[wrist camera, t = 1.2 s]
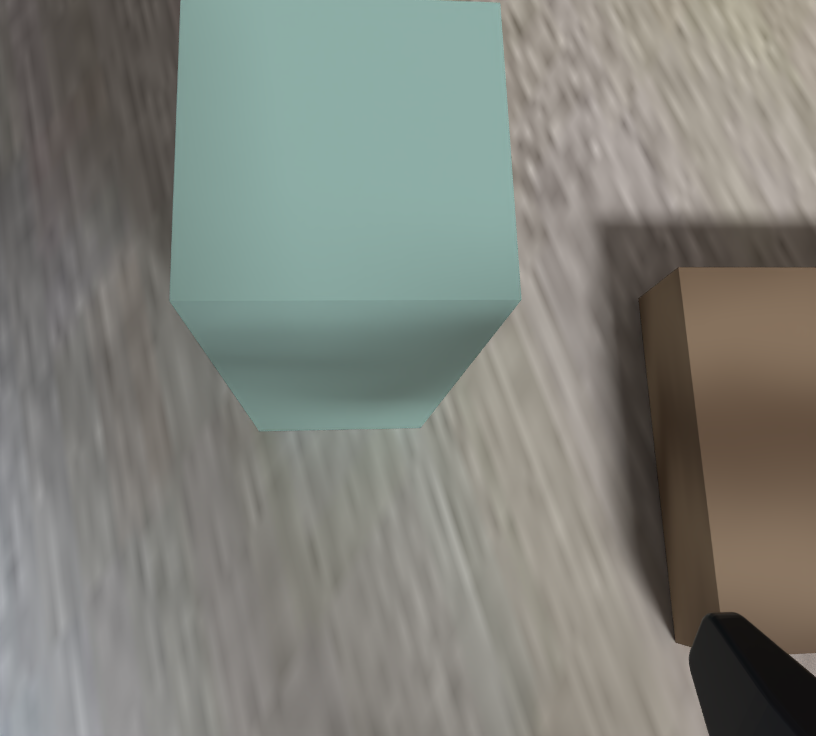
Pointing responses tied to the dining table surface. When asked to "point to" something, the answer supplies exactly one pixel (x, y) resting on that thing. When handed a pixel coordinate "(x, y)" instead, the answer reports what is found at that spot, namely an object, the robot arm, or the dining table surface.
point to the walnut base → (736, 444)
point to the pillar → (342, 203)
